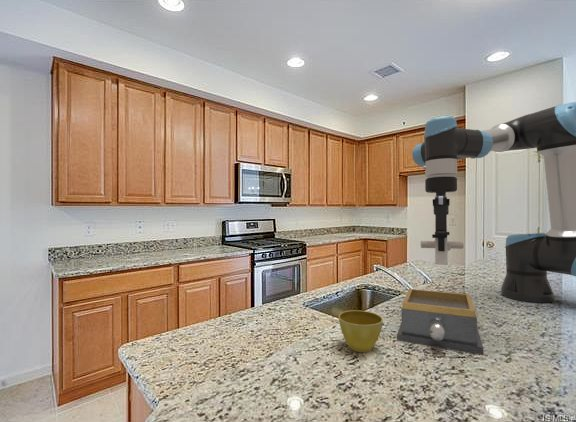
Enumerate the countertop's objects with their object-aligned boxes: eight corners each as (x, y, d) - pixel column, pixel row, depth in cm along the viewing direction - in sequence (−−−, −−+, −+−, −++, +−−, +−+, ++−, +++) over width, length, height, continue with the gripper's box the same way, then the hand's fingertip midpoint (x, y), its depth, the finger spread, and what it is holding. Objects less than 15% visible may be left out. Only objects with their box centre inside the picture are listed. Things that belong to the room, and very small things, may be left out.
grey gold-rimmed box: (475, 326, 82) (475, 293, 82) (485, 362, 63) (484, 319, 63) (405, 317, 91) (404, 287, 91) (394, 346, 71) (394, 308, 71)
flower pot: (391, 347, 71) (390, 316, 71) (369, 362, 64) (368, 328, 64) (354, 335, 78) (353, 307, 78) (330, 348, 71) (330, 317, 71)
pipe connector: (469, 268, 74) (469, 227, 74) (426, 266, 76) (425, 226, 76) (455, 261, 83) (455, 225, 83) (417, 260, 85) (417, 225, 85)
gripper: (427, 182, 92) (428, 255, 91) (422, 172, 71) (423, 267, 71) (455, 180, 88) (456, 256, 88) (458, 170, 68) (459, 269, 68)
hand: (441, 261), depth 79 cm, fingers closed on pipe connector, 10 cm apart
